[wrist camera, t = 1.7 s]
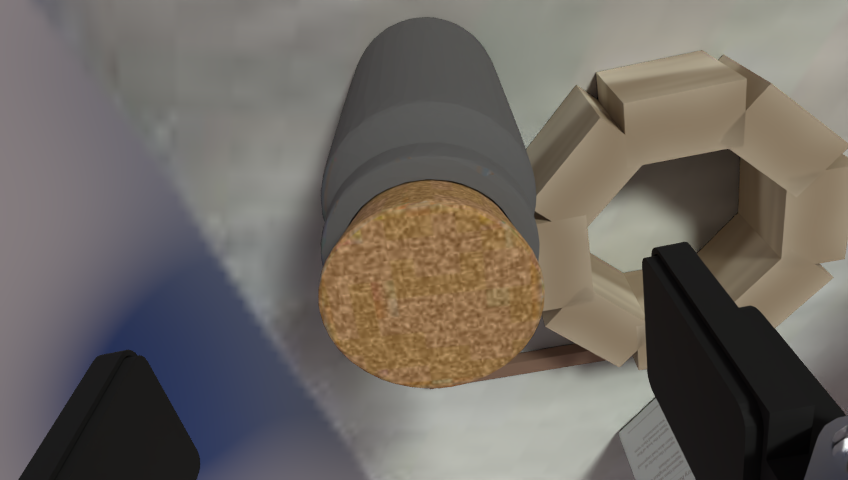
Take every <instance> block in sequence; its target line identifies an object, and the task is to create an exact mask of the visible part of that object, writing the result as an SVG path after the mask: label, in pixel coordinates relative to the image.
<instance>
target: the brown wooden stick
mask: <svg viewBox="0 0 848 480" xmlns="http://www.w3.org/2000/svg"><path fill="white" fill-rule="evenodd" d="M599 361H605V359H603V358H601V357H600V356H598V355H596V354H594V353H592V352H590V351H589V350H587V349H585V348H583V347H581V346H580V345H578V344H571V345H565V346H559V347H553V348H547V349H541V350H535V351H529V352H523V353H518V354H517V355H516V356H515V357H514V358H513V359H512V360H511V361H510V362H509V363H507V364H506V365H505V366H503V367H501V368H500V369H498V370H496V371H495V372H493V373H491V374H490V375H487V376H485V377H483V378H481V379H478V380H476V381H472V382H477V381H483V380H489V379H495V378H501V377H507V376H513V375H519V374H525V373H531V372H538V371H544V370H550V369H556V368H562V367H568V366H574V365H580V364H586V363H592V362H599ZM469 383H470V382H469ZM430 389H434V388H430Z"/></svg>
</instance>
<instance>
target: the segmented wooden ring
mask: <svg viewBox="0 0 848 480" xmlns="http://www.w3.org/2000/svg"><path fill="white" fill-rule="evenodd" d="M596 78H597V90H598V100H597V99H596V98H594V97H593V96H591V95H590V94H589V93H587V92H586V91H584V90H583V89H581V88H580V87H578V86H577V85H576V86H575V87H574V88H573V90H572V91H571V92H570V94H569V95H568V96H567V97H566V99H565V100H564V101H563V103H562V104H561V105H560V106H559V108H558V109H557V110H556V112H555V113H554V114H553V115H552V117H551V118H550V119H549V121H548V122H547V123H546V124H545V126H544V127H543V128H542V130H541V131H540V132H539V133H538V135H537V136H536V137H535V139H534V140H533V141H532V142H531V144H530V145H529V146H528V148H527V149H526V151H527V154H528V157H529V160H530V163H531V166H532V169H533V173H534V178H535V185H536V208H535V213H534V217H535V221H536V224H537V229H538V235H539V242H540V247H539V260H538V263H539V265H540V268H541V270H542V275H543V279H544V284H545V296H544V308H543V311H542V317H543V320H544V324H545V327H547V328H549V329H550V330H552V331H554V332H556V333H558V334H559V335H561V336H563V337H565V338H567V339H569V340H570V341H572V342H574V343H576V344H578V345H580V346H581V347H583V348H585V349H587V350H589V351H590V352H592V353H594V354H596V355H598V356H600V357H601V358H603V359H605V360H607V361H609V362H611V363H612V364H614V365H616V366H618V367H620V366H622V365H623V364H624V363H625V362H626V361H627V360H628V359H629V358H630V357H631V356H633V358H634V360H635V363H636V365H637V367H638V369H639V370H643V369H647V354H646V334H645V313H644V293H643V272H642V270H638V271H632V272H626V273H622V272H621V271H619V270H617V269H616V268H614V267H612V266H611V265H609V264H607V263H606V262H604V261H602V260H601V259H599V258H598V257H596V256H594V255H593V254H591V253H590V250H589V240H588V229H587V227H588V226H589V225H590V224H591V222H592V221H593V220H594V219H595V218H596V217H597V216H598V215H599V213H600V212H601V211H602V210H603V209H604V208H605V207H606V206H607V204H608V203H609V202H610V201H611V200H612V199H613V198H614V196H615V195H616V194H617V193H618V192H619V191H620V190H621V189H622V187H623V186H624V185H625V184H626V183H627V182H628V181H629V179H630V178H631V177H632V176H633V175H634V174H635V173H636V172H637V170H638V169H639V168H640V167H641V166H642V165H646V164H651V163H656V162H661V161H666V160H671V159H677V158H682V157H687V156H692V155H697V154H703V153H708V152H713V151H718V150H723V149H730V150H731V151H733V152H734V153H736V154H737V155H738V156H740V178H739V204H738V213H737V214H736V215H735V216H734V217H733V218H732V219H731V220H730V221H729V222H728V223H727V224H726V225H725V226H724V227H723V228H722V229H721V230H720V231H719V232H718V233H717V234H716V235H715V236H714V237H713V238H712V239H711V240H710V241H709V242H708V243H707V244H706V245H705V246H704V247H703V248H702V249H701V250H700V251H699V252H698V253H697V255H698V256H699V257H700V259H701V260H702V261H703V262H704V264H705V265H706V266H707V267H708V269H709V270H710V271H711V273H712V274H713V275H714V276H715V278H716V279H717V280H718V282H719V283H720V284H721V285H722V287H723V288H724V289H725V291H726V292H727V293H728V294H729V296H730V297H731V298H732V300H733V301H734V302H735V303H736V305H737V306H738V307H745V306H750V305H751V306H754V307H756V308H757V309H758V310H759V311H760V312H761V313H762V314H763V315H764V316H765V317H766V319H767V320H768V321H769V322H770V323H771V325H772V326H773V327H774V328H776V327H777V326H778V325H779V324H781V323H782V322H783V321H784V320H785V319H786V318H787V317H789V316H790V315H791V314H792V313H793V312H794V311H796V310H797V309H798V308H799V307H800V306H801V305H802V304H804V303H805V302H806V301H807V300H808V299H809V298H811V297H812V296H813V295H814V294H815V293H816V292H817V291H819V290H820V289H821V288H822V287H823V286H824V285H826V284H827V283H828V282H829V281H830V280H831V279H832V278H834V277H833V276H832V275H831V274H829V273H828V272H827V271H826V270H825V269H824V268H823V267H822V266H821V265H820V264H819V263H824V262H830V261H836V260H842V259H845V254H846V246H847V239H848V157H846V156H845V155H843V154H842V153H843V152H844V151H846V150H847V149H848V143H847V142H846V141H844V140H843V139H842V138H841V137H839V136H838V135H837V134H836V133H834V132H833V131H832V130H830V129H829V128H828V127H827V126H825V125H824V124H823V123H821V122H820V121H819V120H818V119H816V118H815V117H814V116H812V115H811V114H810V113H809V112H807V111H806V110H805V109H804V108H802V107H801V106H800V105H798V104H797V103H796V102H795V101H793V100H792V99H791V98H789V97H788V96H787V95H786V94H784V93H783V92H782V91H780V90H779V89H778V88H777V87H775V86H774V85H773V84H771V83H770V82H768V81H767V80H765V79H763V78H762V77H760V76H758V75H757V74H755V73H753V72H752V71H750V70H748V69H747V68H745V67H743V66H742V65H740V64H738V63H737V62H735V61H733V60H732V59H730V58H728V57H727V56H725V55H724V54H723V56H722V57H721V58H720V59H719V60H717V59H715V58H713V57H712V56H710V55H709V54H707V53H706V52H704V51H702V50H701V51H697V52H692V53H687V54H682V55H677V56H673V57H668V58H663V59H658V60H653V61H648V62H644V63H639V64H634V65H629V66H624V67H620V68H615V69H610V70H605V71H600V72H596Z"/></svg>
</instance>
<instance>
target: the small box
mask: <svg viewBox="0 0 848 480" xmlns="http://www.w3.org/2000/svg"><path fill="white" fill-rule="evenodd" d="M619 437H620V440H621V443H622V446H623V448H624V451H625V454H626V456H627V459H628V462H629V465H630V467H631V470H632V473H633V476H634V478H635V480H696V479H695V477H694V475H693V473H692V471H691V469H690V467H689V465H688V463H687V461H686V459H685V457H684V455H683V452H682V450H681V448H680V446H679V444H678V442H677V440H676V438H675V436H674V434H673V432H672V430H671V428H670V426H669V424H668V422H667V420H666V418H665V416H664V413H663V411H662V409H661V407H660V405H659V403H658V401H657V399H656V398H655V399H654V400H653V401H652V402H651V403H650V404H649V405H648V406H647V407H645V408H644V409H643V410H642V411H641V412H640V413H639V414H638V415H637V416H636V417H635V418H634V419H633V420H632V421H631V422H630V423H629V424H627V425H626V426H625V427H624V428H623V429H622V430H621V431H620V432H619Z"/></svg>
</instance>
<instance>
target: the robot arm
mask: <svg viewBox="0 0 848 480" xmlns="http://www.w3.org/2000/svg"><path fill="white" fill-rule="evenodd" d="M642 272H643V293H644V313H645V334H646V354H647V372H648V378H649V382H650V385H651V388H652V391H653V393H654V395H655V397H656V399H657V401H658V403H659V405H660V407H661V409H662V411H663V413H664V416H665V418H666V420H667V422H668V424H669V426H670V428H671V430H672V432H673V434H674V436H675V438H676V440H677V442H678V444H679V446H680V448H681V450H682V452H683V455H684V457H685V459H686V461H687V463H688V465H689V467H690V469H691V471H692V473H693V475H694V477H695V479H696V480H848V416H846V414H845V413H844V412H843V411H842V410H841V408H840V407H839V406H838V405H837V404H836V402H835V401H834V400H833V399H832V397H831V396H830V395H829V394H828V393H827V391H826V390H825V389H824V388H823V387H822V385H821V384H820V383H819V382H818V380H817V379H816V378H815V377H814V376H813V374H812V373H811V372H810V371H809V370H808V368H807V367H806V366H805V365H804V363H803V362H802V361H801V360H800V359H799V357H798V356H797V355H796V354H795V353H794V351H793V350H792V349H791V348H790V346H789V345H788V344H787V343H786V342H785V340H784V339H783V338H782V337H781V336H780V334H779V333H778V332H777V331H776V329H775V328H774V327H773V326H772V325H771V323H770V322H769V321H768V320H767V319H766V317H765V316H764V315H763V314H762V313H761V312H760V311H759V310H758V309H757V308H756V307H754V306H751V305H750V306H745V307H738V306H737V305H736V303H735V302H734V301H733V300H732V298H731V297H730V296H729V294H728V293H727V292H726V291H725V289H724V288H723V287H722V285H721V284H720V283H719V282H718V280H717V279H716V278H715V276H714V275H713V274H712V273H711V271H710V270H709V269H708V267H707V266H706V265H705V264H704V262H703V261H702V260H701V259H700V257H699V256H698V255H697V253H696V252H695V251H694V250H693V248H692V247H691V246H690V245H689V244H688V243H687V242H682V243H677V244H671V245H666V246H661V247H656V248H654V249H653V250H652V257H647V258H644V259H643V261H642ZM199 469H200V458H199V454H198V451H197V449H196V447H195V446H194V444H193V442H192V440H191V438H190V437H189V435H188V433H187V431H186V429H185V428H184V426H183V424H182V422H181V420H180V419H179V417H178V415H177V413H176V411H175V410H174V408H173V406H172V404H171V403H170V401H169V399H168V397H167V395H166V394H165V392H164V390H163V388H162V386H161V385H160V383H159V381H158V379H157V377H156V376H155V374H154V372H153V370H152V368H151V367H150V365H149V363H148V361H147V360H146V359H145V357H143V356H140V355H139V356H137V354H136V353H135V352H133V351H131V350H125V351H119V352H114V353H109V354H104V355H100V356H98V357H96V359H95V360H94V361H93V363H92V364H91V366H90V367H89V369H88V370H87V372H86V374H85V375H84V377H83V378H82V380H81V382H80V383H79V385H78V386H77V388H76V389H75V391H74V393H73V394H72V396H71V397H70V399H69V401H68V402H67V404H66V405H65V407H64V408H63V410H62V412H61V413H60V415H59V416H58V418H57V419H56V421H55V423H54V425H53V426H52V428H51V429H50V431H49V432H48V434H47V435H46V437H45V439H44V440H43V442H42V443H41V445H40V446H39V448H38V450H37V451H36V453H35V454H34V456H33V458H32V459H31V461H30V462H29V464H28V465H27V467H26V469H25V470H24V472H23V473H22V475H21V476H20V478H19V480H196V479H197V476H198V473H199Z"/></svg>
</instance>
